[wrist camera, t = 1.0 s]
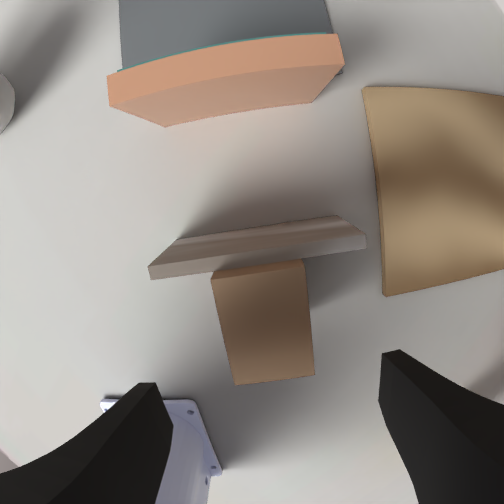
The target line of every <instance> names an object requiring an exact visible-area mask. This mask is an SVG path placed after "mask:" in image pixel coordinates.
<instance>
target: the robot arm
mask: <svg viewBox="0 0 504 504" xmlns="http://www.w3.org/2000/svg"><path fill="white" fill-rule="evenodd" d="M378 401H379V404H380V408H381V411H382V414H383V417H384V420H385V423H386V426H387V428H388V430H389V433H390V435H391V437H392V439H393V441H394V443H395V445H396V447H397V449H398V452H399V454H400V456H401V458H402V460H403V462H404V464H405V467H406V469H407V471H408V473H409V475H410V478H411V480H412V483H413V485H414V489H415V492H416V495H417V499H418V502H419V504H504V405H503V404H500V403H497V402H495V401H492V400H490V399H487V398H484V397H482V396H480V395H478V394H475V393H473V392H471V391H469V390H467V389H465V388H463V387H461V386H459V385H457V384H456V383H454V382H452V381H450V380H448V379H447V378H445V377H443V376H442V375H440V374H438V373H437V372H435V371H433V370H432V369H430V368H428V367H427V366H425V365H424V364H422V363H421V362H419V361H417V360H416V359H414V358H413V357H411V356H410V355H408V354H406V353H405V352H403V351H401V350H400V349H399V350H395V351H391V352H386V353H382V360H381V375H380V388H379V399H378ZM100 406H101V408H102V410H103V412H104V413H103V414H102V415H101V416H100V417H99V418H98V419H96V420H95V421H94V422H93V423H91V424H90V425H89V426H88V427H86V428H85V429H84V430H82V431H81V432H80V433H79V434H77V435H76V436H75V437H73V438H72V439H70V440H69V441H67V442H66V443H65V444H63V445H61V446H60V447H58V448H56V449H55V450H53V451H52V452H50V453H48V454H46V455H44V456H42V457H40V458H38V459H36V460H34V461H32V462H30V463H28V464H26V465H23V466H21V467H18V468H16V469H13V470H10V471H7V472H4V473H1V474H0V504H207V501H208V493H209V486H210V479H211V476H220V475H222V469H221V466H220V464H219V462H218V459H217V457H216V454H215V452H214V449H213V447H212V444H211V442H210V439H209V437H208V434H207V431H206V429H205V426H204V424H203V421H202V418H201V415H200V413H199V410H198V407H197V404H196V403H195V402H194V401H192V400H162V397H161V395H160V392H159V390H158V387H157V385H156V383H138V384H137V385H136V386H134V387H133V388H132V389H131V390H130V391H128V392H127V393H126V394H125V395H124V396H123V397H122V398H120V399H119V400H117V399H102V400H101V401H100ZM189 410H192V411H193V412H192V411H189Z"/></svg>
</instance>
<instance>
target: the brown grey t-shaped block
mask: <svg viewBox="0 0 504 504" xmlns="http://www.w3.org/2000/svg"><path fill="white" fill-rule="evenodd" d="M366 248H367V243H366V234H365V233H363V232H362V231H360V230H359V229H357V228H356V227H354V226H353V225H351V224H350V223H348V222H347V221H345V220H343V219H342V218H340V217H339V216H337V215H336V216H328V217H321V218H314V219H307V220H300V221H293V222H286V223H280V224H273V225H266V226H259V227H253V228H246V229H240V230H233V231H227V232H221V233H214V234H208V235H202V236H196V237H190V238H184V239H178V240H175V241H174V242H173V243H172V244H171V245H170V246H169V247H168V248H167V249H166V250H165V251H164V252H163V253H161V254H160V255H159V256H158V257H157V258H156V259H155V260H154V261H153V262H152V263H151V264H150V265H149V266H148V270H149V274H150V278H151V280H155V279H163V278H170V277H177V276H185V275H192V274H199V273H206V272H213V271H214V273H213V275H212V278H211V284H212V289H213V294H214V298H215V303H216V307H217V312H218V316H219V321H220V325H221V330H222V334H223V338H224V343H225V347H226V351H227V355H228V360H229V364H230V368H231V372H232V376H233V380H234V384H235V385H243V384H252V383H261V382H270V381H277V380H285V379H292V378H299V377H305V376H311V375H315V370H314V357H313V345H312V333H311V322H310V312H309V302H308V292H307V282H306V273H305V266H304V264H303V261H302V258H308V257H315V256H322V255H328V254H335V253H341V252H347V251H354V250H360V249H366Z"/></svg>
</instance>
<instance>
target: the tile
mask: <svg viewBox="0 0 504 504" xmlns="http://www.w3.org/2000/svg"><path fill="white" fill-rule="evenodd" d="M344 65H345V62H344V58H343V54H342V49H341V45H340V41H339V37H338V34H326V32H320V33H300V34H287V35H276V36H267V37H258V38H251V39H244V40H237V41H231V42H225V43H220V44H214V45H209V46H204V47H200V48H195V49H191V50H186V51H182V52H178V53H174V54H170V55H166V56H163V57H159V58H155V59H152V60H149V61H145V62H142V63H139V64H135V65H132V66H129V67H126V68H123V69H120V70H117V73H114V74H111V75H108V76H107V85H108V96H109V105H110V107H113V108H116V109H118V110H121V111H124V112H127V113H129V114H132V115H135V116H137V117H140V118H142V119H145V120H148V121H150V122H153V123H155V124H158V125H160V126H163V127H169V126H173V125H177V124H181V123H186V122H191V121H195V120H200V119H205V118H210V117H215V116H221V115H226V114H232V113H238V112H244V111H250V110H257V109H264V108H271V107H279V106H287V105H296V104H306V103H312V102H313V101H314V99H315V98H316V97H317V96H318V95H319V94H320V92H321V91H322V90H323V89H324V88H325V87H326V85H327V84H328V83H329V82H330V81H331V80H332V79H333V77H334V76H335V75H336V74H337V73H338V72H339V71H340V69H341V68H342V67H343V66H344Z"/></svg>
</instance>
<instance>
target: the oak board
mask: <svg viewBox="0 0 504 504" xmlns="http://www.w3.org/2000/svg"><path fill="white" fill-rule="evenodd" d="M362 94H363V99H364V104H365V110H366V115H367V121H368V127H369V133H370V140H371V147H372V154H373V161H374V169H375V178H376V187H377V197H378V208H379V220H380V235H381V255H382V293H383V294H384V295H385V297H388V296H393V295H398V294H403V293H407V292H412V291H417V290H421V289H426V288H430V287H434V286H439V285H443V284H447V283H451V282H456V281H460V280H464V279H468V278H472V277H475V276H479V275H483V274H487V273H491V272H494V271H498V270H502V269H504V96H498V95H492V94H485V93H477V92H468V91H459V90H448V89H434V88H414V87H364V88H363V89H362Z"/></svg>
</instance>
